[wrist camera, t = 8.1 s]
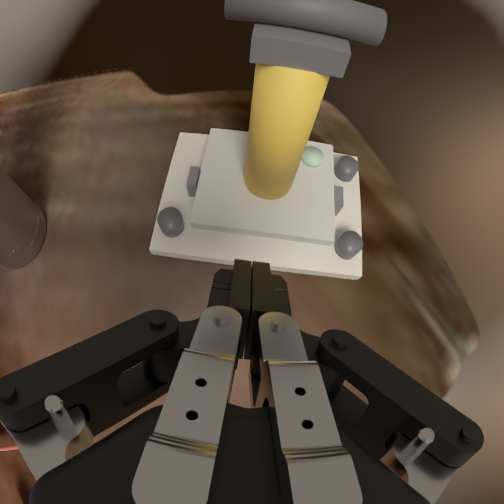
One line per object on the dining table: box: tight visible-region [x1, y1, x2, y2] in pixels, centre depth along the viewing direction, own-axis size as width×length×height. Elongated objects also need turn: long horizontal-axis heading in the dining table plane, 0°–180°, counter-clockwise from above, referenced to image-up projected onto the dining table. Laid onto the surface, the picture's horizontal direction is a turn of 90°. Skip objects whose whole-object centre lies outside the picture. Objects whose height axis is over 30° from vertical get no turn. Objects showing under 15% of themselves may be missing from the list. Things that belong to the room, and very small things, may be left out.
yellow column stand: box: [190, 0, 387, 246], centre depth 23 cm, size 14×12×22 cm
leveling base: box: [149, 132, 363, 280], centre depth 35 cm, size 23×16×4 cm
